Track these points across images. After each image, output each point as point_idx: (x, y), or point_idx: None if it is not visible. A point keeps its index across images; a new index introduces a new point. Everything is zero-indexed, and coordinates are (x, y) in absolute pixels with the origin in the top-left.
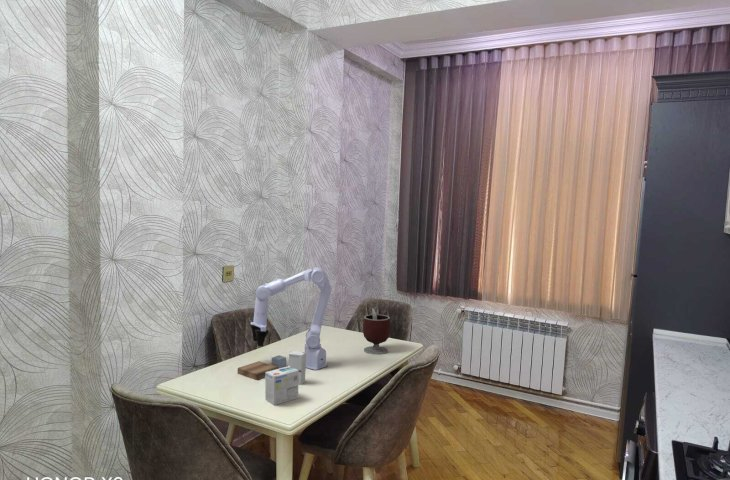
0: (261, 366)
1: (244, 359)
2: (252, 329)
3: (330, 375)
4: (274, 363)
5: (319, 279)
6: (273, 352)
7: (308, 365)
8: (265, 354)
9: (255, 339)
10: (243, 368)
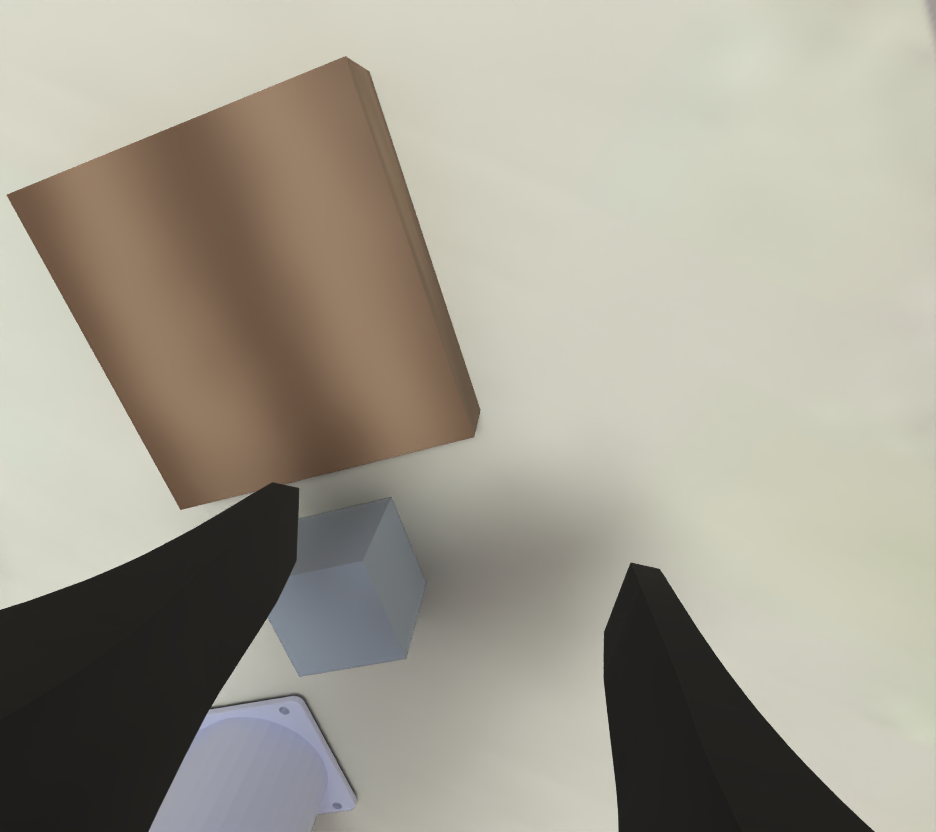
0: (267, 368)
1: (849, 379)
2: (722, 795)
3: None
4: (335, 535)
5: None
6: (831, 716)
7: (212, 731)
8: (833, 634)
9: (624, 611)
10: (285, 128)
